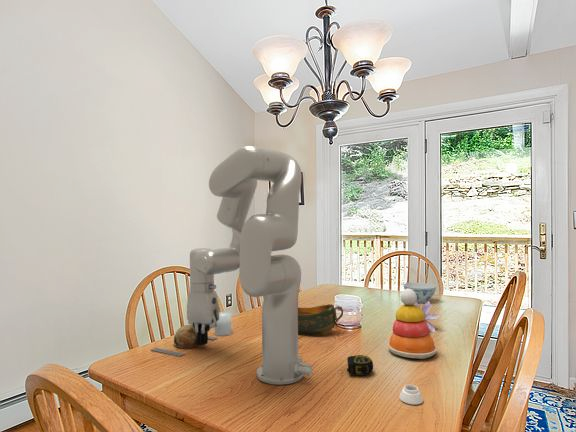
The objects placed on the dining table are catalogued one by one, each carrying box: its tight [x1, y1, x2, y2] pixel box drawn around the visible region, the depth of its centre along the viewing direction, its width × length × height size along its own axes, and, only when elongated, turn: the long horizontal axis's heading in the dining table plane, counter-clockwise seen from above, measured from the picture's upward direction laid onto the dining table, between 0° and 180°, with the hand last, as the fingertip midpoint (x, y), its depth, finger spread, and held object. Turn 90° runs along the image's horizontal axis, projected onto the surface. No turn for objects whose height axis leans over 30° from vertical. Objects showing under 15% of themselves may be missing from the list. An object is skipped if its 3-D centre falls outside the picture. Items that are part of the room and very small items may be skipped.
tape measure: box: [346, 354, 374, 376], centre depth 97 cm, size 7×7×4 cm
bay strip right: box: [208, 335, 218, 342], centre depth 127 cm, size 12×2×1 cm, turn 63°
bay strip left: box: [150, 347, 185, 358], centre depth 113 cm, size 12×2×1 cm, turn 63°
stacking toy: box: [387, 289, 438, 360], centre depth 111 cm, size 14×14×20 cm
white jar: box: [398, 384, 424, 406], centre depth 82 cm, size 5×3×5 cm
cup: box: [214, 311, 233, 337], centre depth 132 cm, size 6×6×7 cm
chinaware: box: [403, 282, 437, 304], centre depth 178 cm, size 15×15×8 cm
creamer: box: [298, 303, 344, 337], centre depth 131 cm, size 13×20×10 cm, turn 50°
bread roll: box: [173, 324, 201, 350], centre depth 121 cm, size 10×10×8 cm
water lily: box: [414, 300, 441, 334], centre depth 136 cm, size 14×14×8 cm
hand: (202, 344), depth 117 cm, fingers closed
